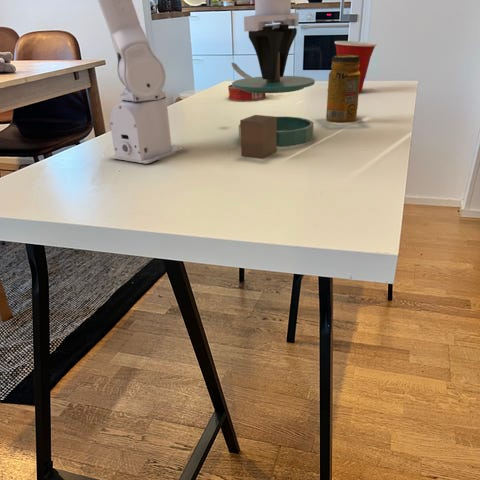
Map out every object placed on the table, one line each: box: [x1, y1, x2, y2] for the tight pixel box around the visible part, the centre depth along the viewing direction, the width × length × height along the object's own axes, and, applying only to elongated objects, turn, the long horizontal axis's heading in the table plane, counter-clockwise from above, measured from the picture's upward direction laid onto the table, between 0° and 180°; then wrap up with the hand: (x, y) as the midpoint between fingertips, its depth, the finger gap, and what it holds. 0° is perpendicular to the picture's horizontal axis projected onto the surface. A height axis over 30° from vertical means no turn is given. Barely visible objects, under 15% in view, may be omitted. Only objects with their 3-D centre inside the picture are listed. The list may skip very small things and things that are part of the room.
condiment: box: [325, 54, 360, 124], centre depth 94 cm, size 7×8×12 cm
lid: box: [231, 51, 316, 94], centre depth 82 cm, size 14×14×6 cm
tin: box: [238, 116, 315, 148], centre depth 86 cm, size 13×13×3 cm
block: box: [239, 114, 278, 160], centre depth 76 cm, size 4×4×6 cm
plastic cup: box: [334, 40, 378, 94], centre depth 126 cm, size 11×11×12 cm
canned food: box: [227, 62, 267, 102], centre depth 126 cm, size 11×10×10 cm
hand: (272, 78), depth 82 cm, fingers closed on lid, 2 cm apart
